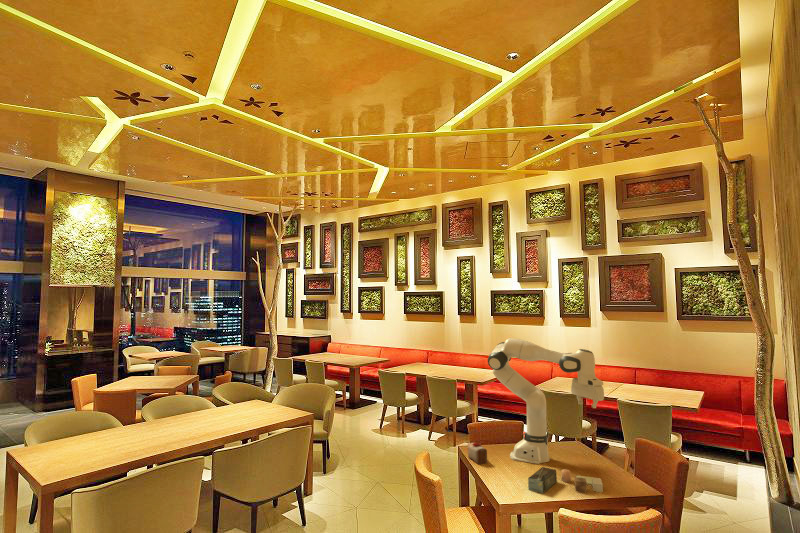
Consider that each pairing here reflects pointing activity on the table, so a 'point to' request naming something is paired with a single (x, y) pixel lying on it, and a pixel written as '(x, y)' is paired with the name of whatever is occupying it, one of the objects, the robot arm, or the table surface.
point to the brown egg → (566, 475)
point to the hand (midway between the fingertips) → (587, 406)
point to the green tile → (587, 479)
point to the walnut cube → (580, 484)
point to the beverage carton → (542, 480)
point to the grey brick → (597, 484)
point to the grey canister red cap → (477, 453)
